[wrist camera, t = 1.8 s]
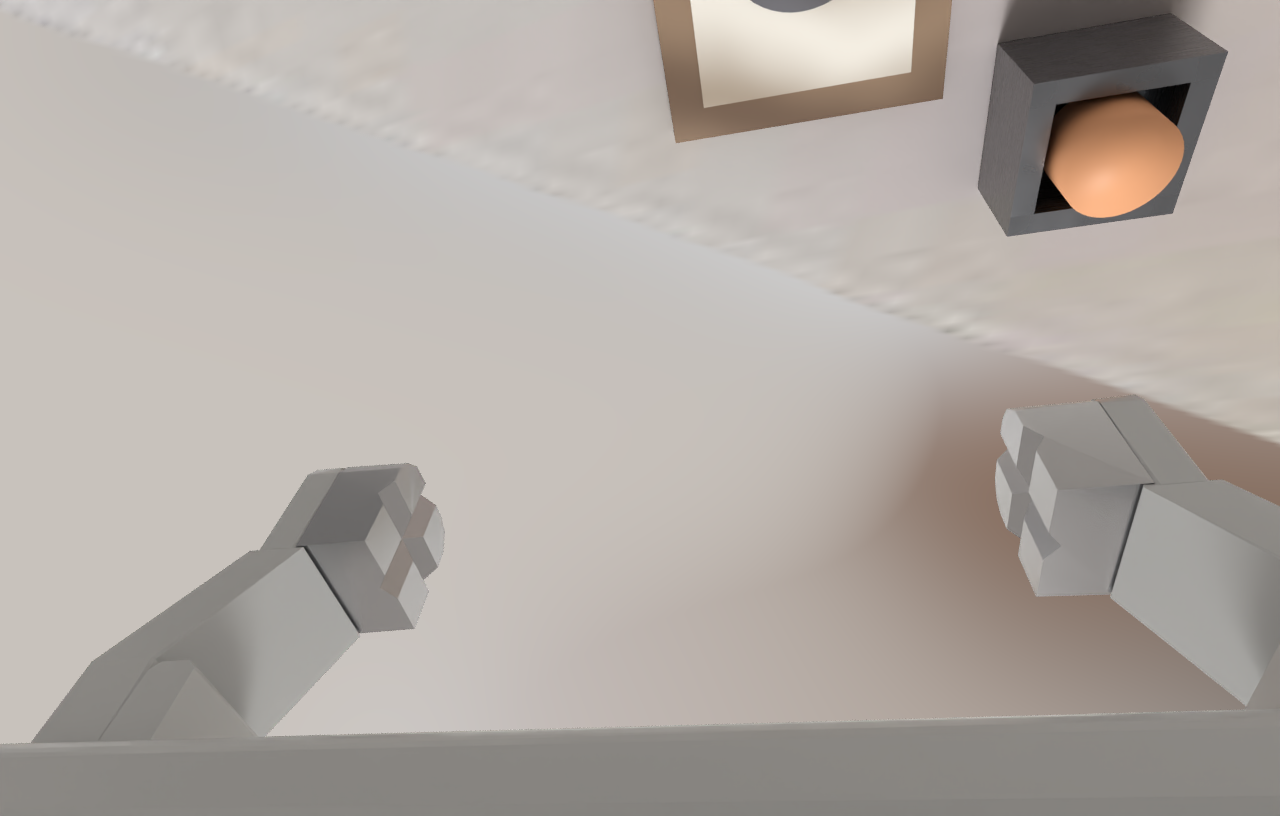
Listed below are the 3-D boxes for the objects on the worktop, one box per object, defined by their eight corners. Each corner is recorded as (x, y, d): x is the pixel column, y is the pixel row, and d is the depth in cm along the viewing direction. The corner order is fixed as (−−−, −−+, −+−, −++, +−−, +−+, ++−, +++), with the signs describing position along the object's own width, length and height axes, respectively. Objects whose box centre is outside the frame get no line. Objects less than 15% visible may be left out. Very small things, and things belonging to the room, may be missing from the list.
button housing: (997, 43, 33) (1034, 84, 30) (1171, 13, 32) (1228, 51, 29) (978, 188, 38) (1007, 236, 34) (1127, 166, 37) (1172, 213, 33)
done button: (1048, 95, 31) (1076, 126, 29) (1162, 76, 31) (1199, 106, 29) (1030, 190, 34) (1054, 224, 32) (1133, 175, 34) (1165, 209, 32)
